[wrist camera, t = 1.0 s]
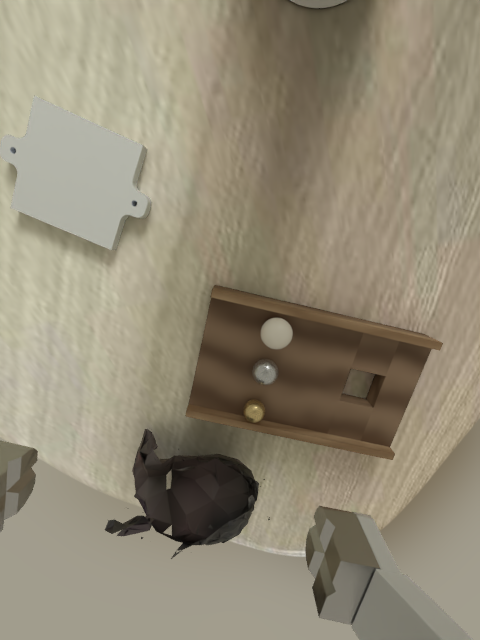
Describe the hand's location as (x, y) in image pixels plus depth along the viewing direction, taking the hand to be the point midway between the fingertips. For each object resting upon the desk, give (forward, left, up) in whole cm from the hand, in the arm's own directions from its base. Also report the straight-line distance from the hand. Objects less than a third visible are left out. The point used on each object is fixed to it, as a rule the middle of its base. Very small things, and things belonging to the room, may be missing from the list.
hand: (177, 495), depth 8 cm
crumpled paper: (+26, +2, -33) cm, 42 cm away
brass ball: (+14, +7, -29) cm, 32 cm away
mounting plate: (-10, -21, -33) cm, 41 cm away
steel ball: (+8, +7, -28) cm, 30 cm away
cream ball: (+2, +7, -28) cm, 29 cm away
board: (+8, +13, -33) cm, 36 cm away
